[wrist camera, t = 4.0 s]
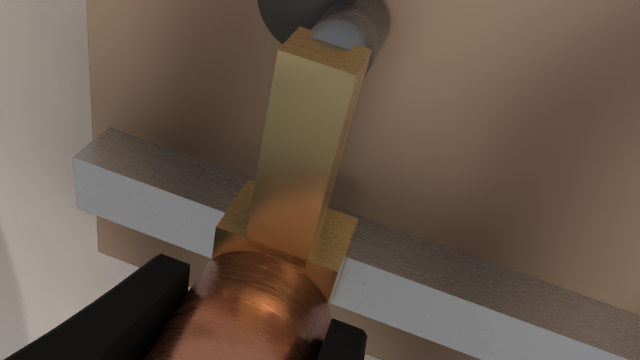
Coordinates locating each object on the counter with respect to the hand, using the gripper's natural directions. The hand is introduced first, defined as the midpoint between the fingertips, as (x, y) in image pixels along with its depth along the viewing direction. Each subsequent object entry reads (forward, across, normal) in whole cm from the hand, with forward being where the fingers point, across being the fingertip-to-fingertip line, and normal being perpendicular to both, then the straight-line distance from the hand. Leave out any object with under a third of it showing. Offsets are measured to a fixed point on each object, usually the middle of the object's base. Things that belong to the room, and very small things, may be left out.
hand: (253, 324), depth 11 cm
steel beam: (+4, -5, +1) cm, 6 cm away
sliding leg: (+4, 0, -2) cm, 4 cm away
